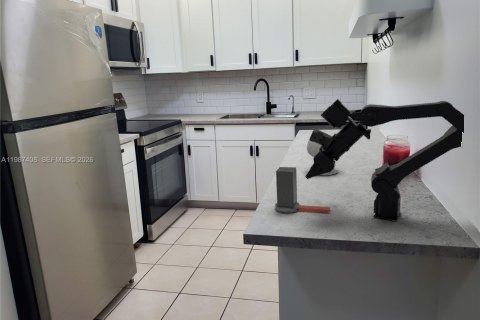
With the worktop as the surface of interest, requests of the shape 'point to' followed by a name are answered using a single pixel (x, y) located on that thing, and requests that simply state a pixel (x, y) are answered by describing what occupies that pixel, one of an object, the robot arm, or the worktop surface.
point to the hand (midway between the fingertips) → (308, 173)
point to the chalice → (313, 150)
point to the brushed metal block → (286, 187)
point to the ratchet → (302, 209)
